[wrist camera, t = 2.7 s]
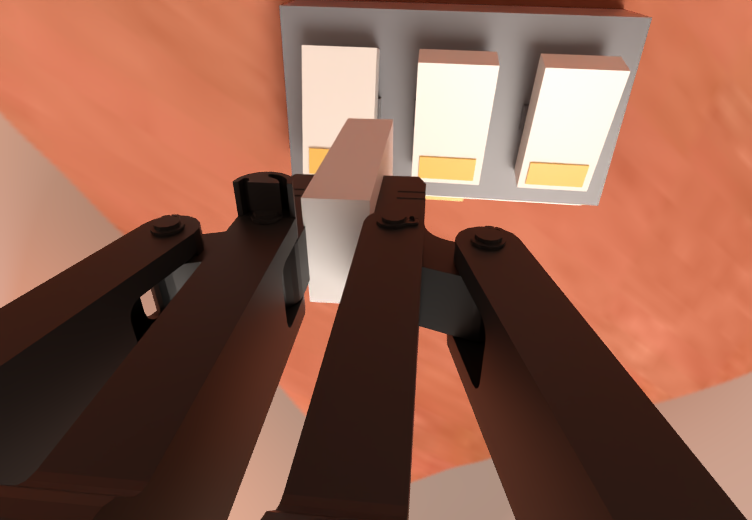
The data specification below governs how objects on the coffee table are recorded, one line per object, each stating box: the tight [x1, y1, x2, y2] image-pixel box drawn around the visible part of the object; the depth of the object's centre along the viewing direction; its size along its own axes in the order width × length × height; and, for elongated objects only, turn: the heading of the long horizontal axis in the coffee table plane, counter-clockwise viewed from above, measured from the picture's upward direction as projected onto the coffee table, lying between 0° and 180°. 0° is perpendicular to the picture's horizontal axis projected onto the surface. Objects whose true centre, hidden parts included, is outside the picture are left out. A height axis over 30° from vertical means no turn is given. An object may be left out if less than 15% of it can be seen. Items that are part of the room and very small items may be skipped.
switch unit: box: [279, 0, 652, 206], centre depth 34 cm, size 13×22×6 cm, turn 89°
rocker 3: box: [514, 53, 630, 191], centre depth 30 cm, size 8×4×2 cm, turn 178°
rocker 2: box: [412, 49, 500, 185], centre depth 31 cm, size 8×4×2 cm, turn 178°
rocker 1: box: [302, 45, 380, 174], centre depth 31 cm, size 8×4×2 cm, turn 0°
